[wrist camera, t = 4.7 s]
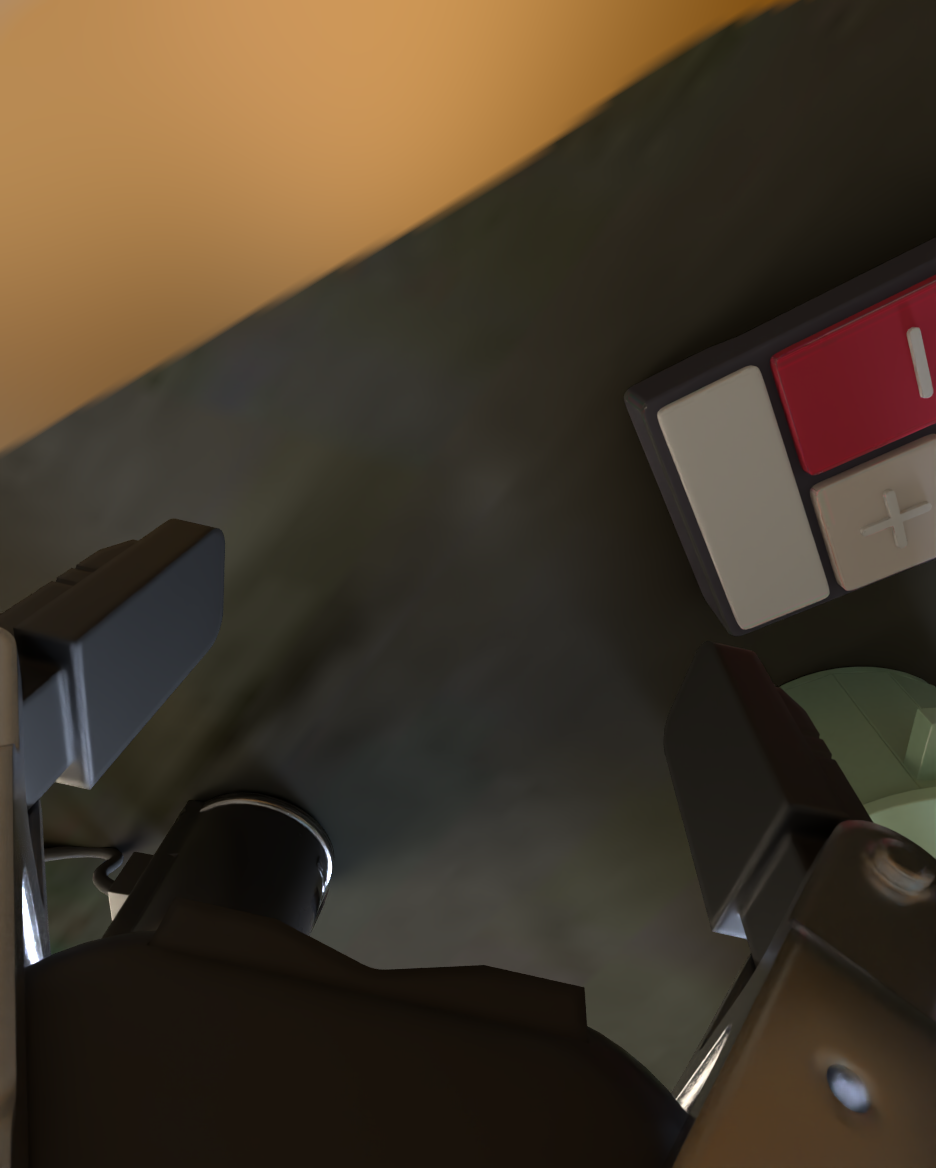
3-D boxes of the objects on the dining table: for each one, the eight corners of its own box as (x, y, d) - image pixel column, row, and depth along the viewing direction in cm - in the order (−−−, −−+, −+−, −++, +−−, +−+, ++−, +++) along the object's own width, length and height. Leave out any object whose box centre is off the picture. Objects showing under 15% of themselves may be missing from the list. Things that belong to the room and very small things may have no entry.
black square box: (1144, 491, 23) (738, 650, 26) (1049, 462, 27) (705, 604, 30) (1116, 175, 19) (642, 409, 22) (1009, 194, 23) (619, 391, 26)
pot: (704, 881, 39) (748, 1031, 31) (726, 624, 31) (792, 741, 23) (926, 880, 37) (1029, 1036, 30) (1008, 611, 29) (1178, 730, 22)
